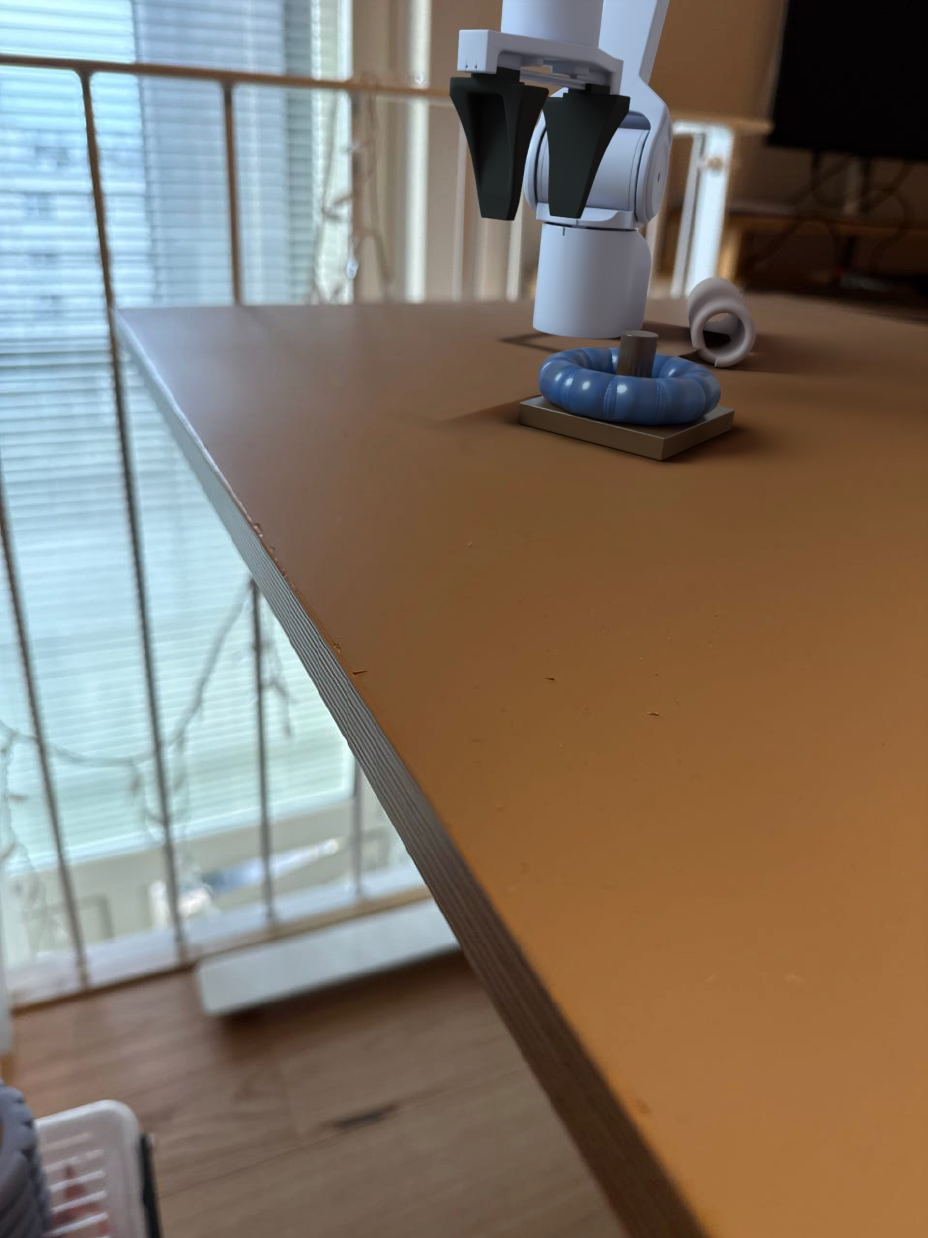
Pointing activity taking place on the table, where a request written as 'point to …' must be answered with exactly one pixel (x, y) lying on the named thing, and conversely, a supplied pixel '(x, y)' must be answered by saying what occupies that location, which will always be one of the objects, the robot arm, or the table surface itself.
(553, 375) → the blue segmented ring
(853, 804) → the table surface
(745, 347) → the coil
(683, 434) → the peg stand
